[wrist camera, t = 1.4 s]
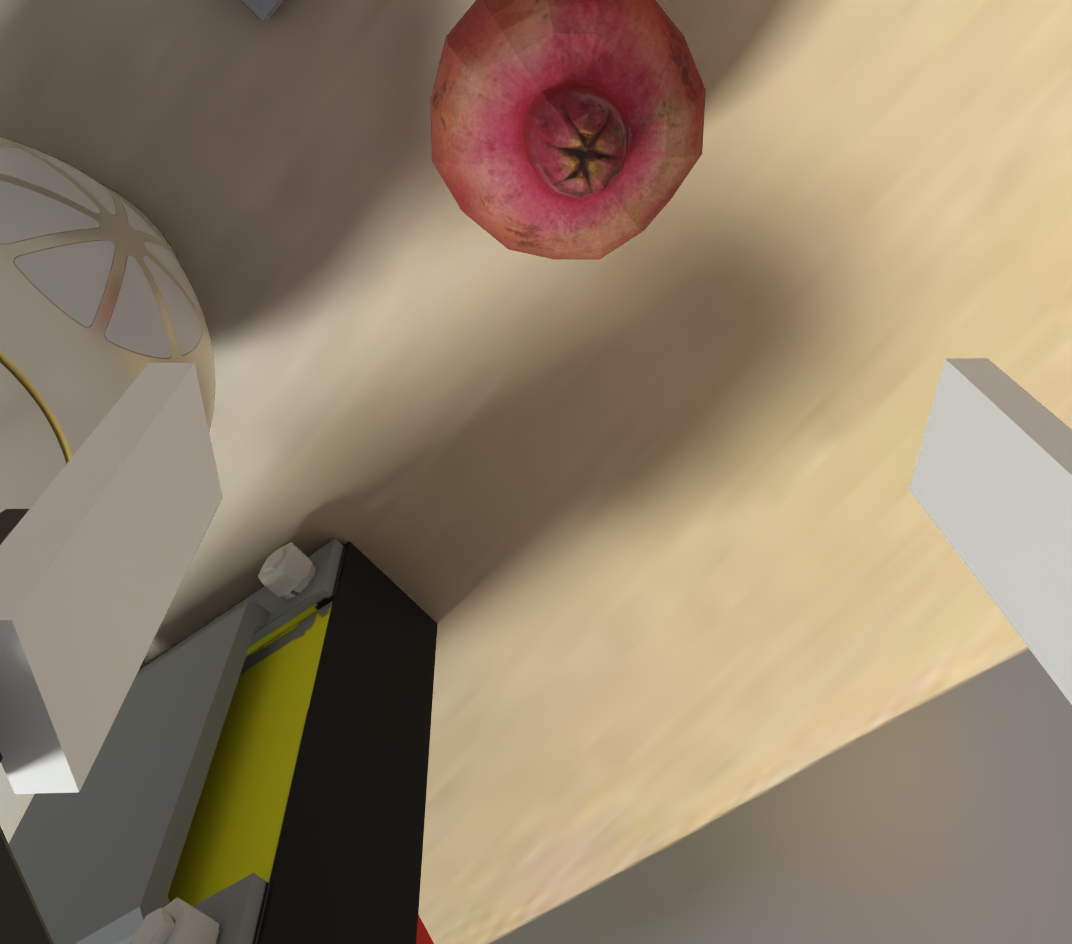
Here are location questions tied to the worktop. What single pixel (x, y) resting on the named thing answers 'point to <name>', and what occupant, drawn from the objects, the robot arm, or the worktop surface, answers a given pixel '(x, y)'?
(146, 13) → the worktop surface
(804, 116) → the worktop surface
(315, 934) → the electrical component
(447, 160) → the fruit
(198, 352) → the teapot
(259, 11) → the grey square pegged plate
